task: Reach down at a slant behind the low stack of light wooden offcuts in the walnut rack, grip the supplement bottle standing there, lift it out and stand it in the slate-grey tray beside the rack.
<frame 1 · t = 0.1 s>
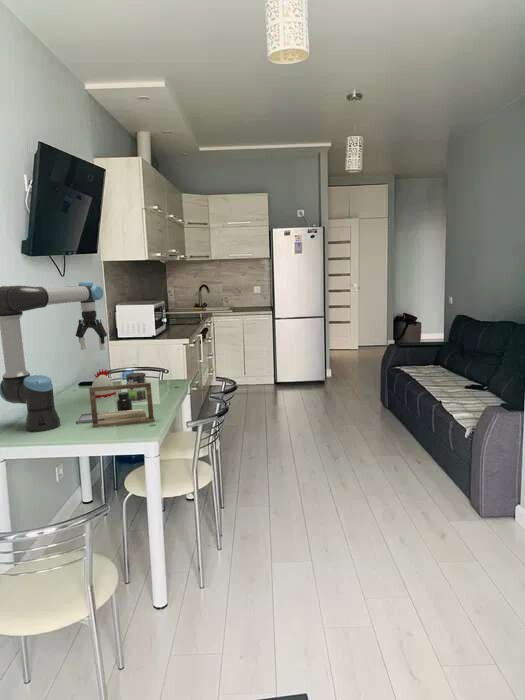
hand: (92, 349, 295), 28 cm above the table, tool pointing down, fingers open, 13 cm apart
grey tray: (93, 419, 259), on the table
kitchen timer: (103, 395, 311), on the table
offcut stack: (121, 416, 248), point 3 cm above the table
walnut rack: (121, 404, 248), on the table
coffee can: (138, 400, 294), on the table
supplement bottle: (125, 418, 258), on the table
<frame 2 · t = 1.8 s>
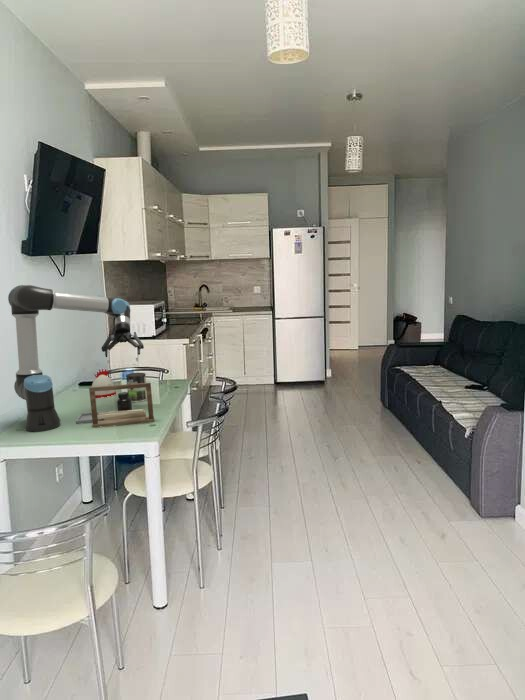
hand: (122, 360, 265), 26 cm above the table, tool tilted 45°, fingers open, 13 cm apart
nothing on the table moved.
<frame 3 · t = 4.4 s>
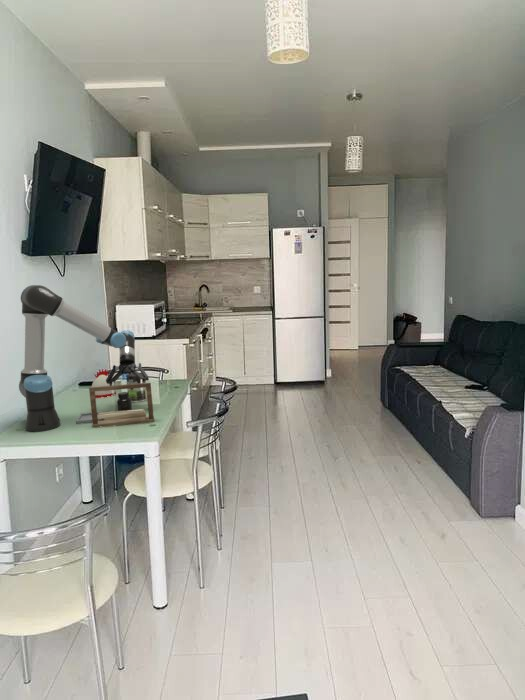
hand: (127, 393, 263), 10 cm above the table, tool tilted 45°, fingers open, 13 cm apart
nothing on the table moved.
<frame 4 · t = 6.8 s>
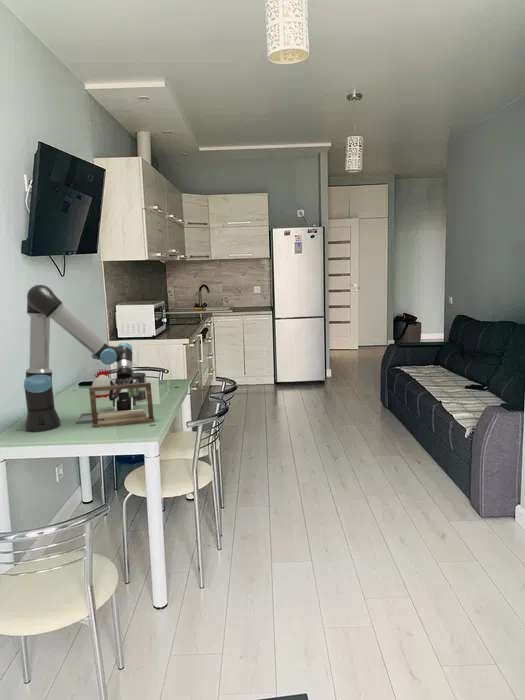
hand: (124, 411, 254), 4 cm above the table, tool tilted 45°, fingers closed on supplement bottle, 7 cm apart
supplement bottle: (125, 418, 258), on the table, touching gripper
everything else where it was.
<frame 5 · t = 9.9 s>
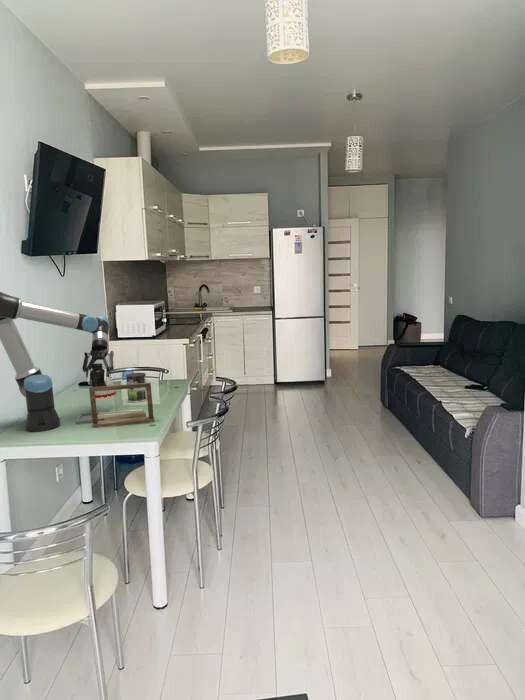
hand: (97, 382, 253), 18 cm above the table, tool tilted 45°, fingers closed on supplement bottle, 7 cm apart
supplement bottle: (99, 389, 257), point 14 cm above the table, touching gripper
everything else where it was.
when the fingers open (6 cm above the table, at t = 13.1 s): supplement bottle drops 1 cm, resting on grey tray.
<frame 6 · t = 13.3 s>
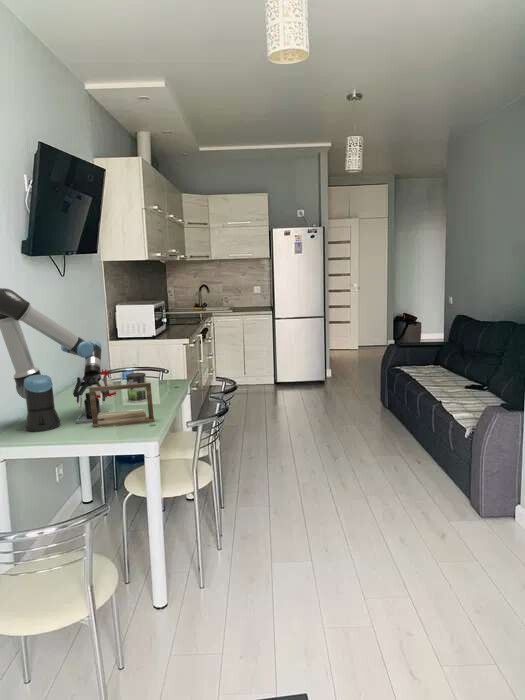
hand: (90, 407, 255), 6 cm above the table, tool tilted 45°, fingers open, 9 cm apart
supplement bottle: (93, 417, 259), resting on grey tray
everything else where it was.
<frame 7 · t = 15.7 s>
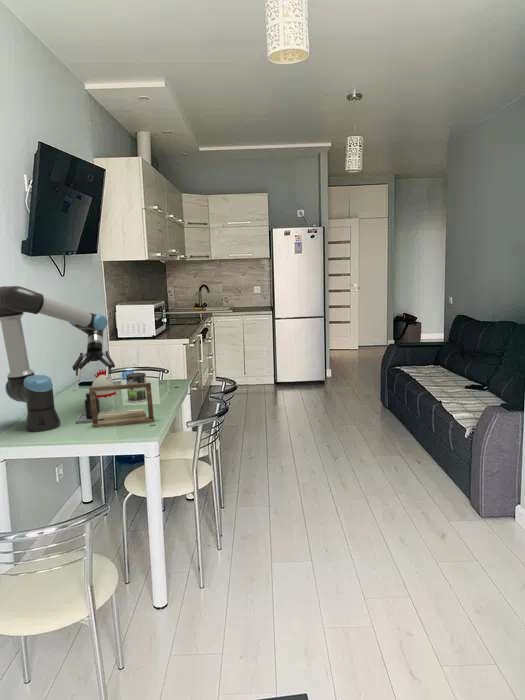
hand: (93, 379, 267), 17 cm above the table, tool tilted 45°, fingers open, 13 cm apart
nothing on the table moved.
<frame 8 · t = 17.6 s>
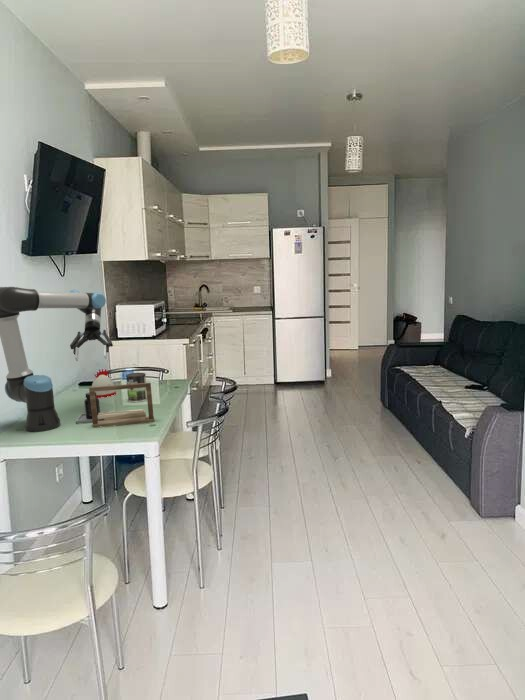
hand: (90, 358, 266), 28 cm above the table, tool tilted 45°, fingers open, 13 cm apart
nothing on the table moved.
at the end: supplement bottle inside the target area on the grey tray (0.2 cm from its centre), point 0.4 cm above the grey tray's base; supplement bottle tilted 0°; the gripper is holding nothing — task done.
